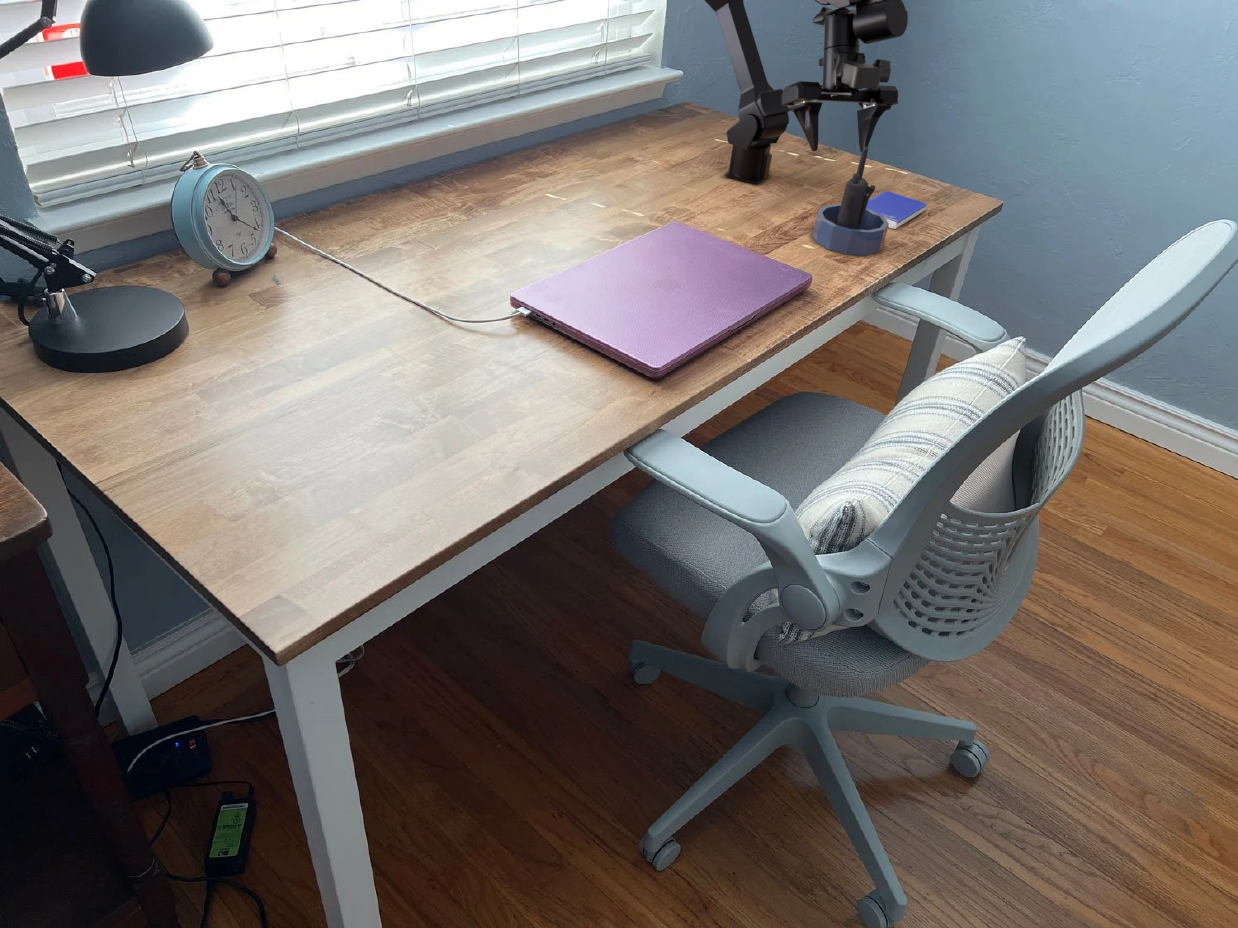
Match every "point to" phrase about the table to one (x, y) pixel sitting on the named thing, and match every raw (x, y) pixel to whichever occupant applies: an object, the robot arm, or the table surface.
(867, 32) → the robot arm
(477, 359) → the table surface
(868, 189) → the two-way radio
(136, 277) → the table surface
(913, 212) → the blue book
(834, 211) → the blue faceted hollow ring
